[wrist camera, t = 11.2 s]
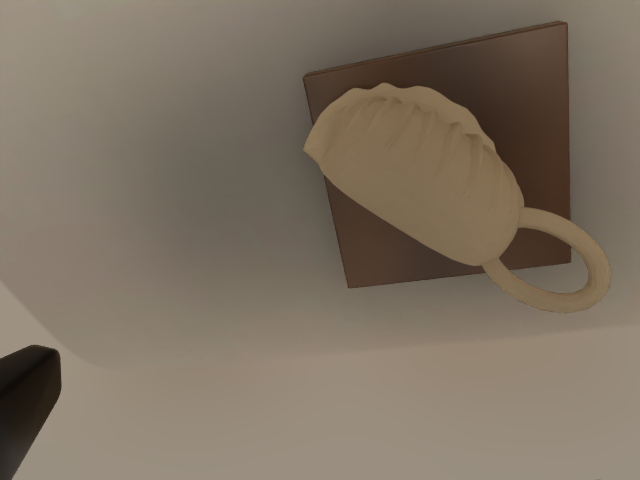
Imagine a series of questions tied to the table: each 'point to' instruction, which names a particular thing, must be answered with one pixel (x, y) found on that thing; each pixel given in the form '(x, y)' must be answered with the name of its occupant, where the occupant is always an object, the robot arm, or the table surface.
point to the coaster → (495, 121)
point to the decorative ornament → (442, 185)
